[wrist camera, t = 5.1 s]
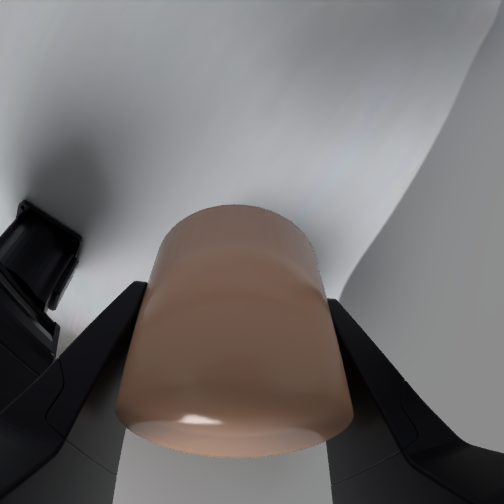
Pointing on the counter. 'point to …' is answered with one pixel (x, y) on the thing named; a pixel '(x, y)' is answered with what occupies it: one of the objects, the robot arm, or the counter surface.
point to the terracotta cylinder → (235, 341)
